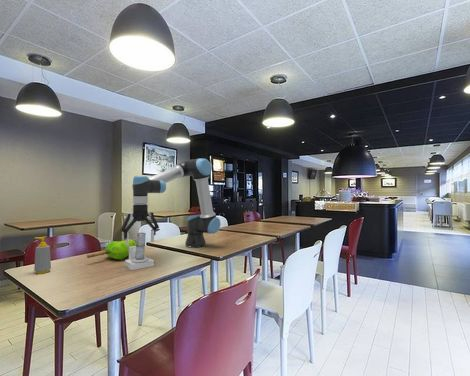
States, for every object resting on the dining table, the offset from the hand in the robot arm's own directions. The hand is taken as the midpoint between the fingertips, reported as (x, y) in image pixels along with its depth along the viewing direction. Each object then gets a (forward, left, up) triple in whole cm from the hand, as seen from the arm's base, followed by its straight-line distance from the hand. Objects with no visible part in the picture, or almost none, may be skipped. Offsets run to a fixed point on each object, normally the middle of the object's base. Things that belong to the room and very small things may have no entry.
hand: (140, 243), depth 142 cm
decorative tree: (+7, -26, -13) cm, 29 cm away
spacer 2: (0, 0, -9) cm, 9 cm away
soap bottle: (+42, -22, -13) cm, 49 cm away
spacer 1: (0, 0, -2) cm, 2 cm away
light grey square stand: (0, -2, -13) cm, 13 cm away
